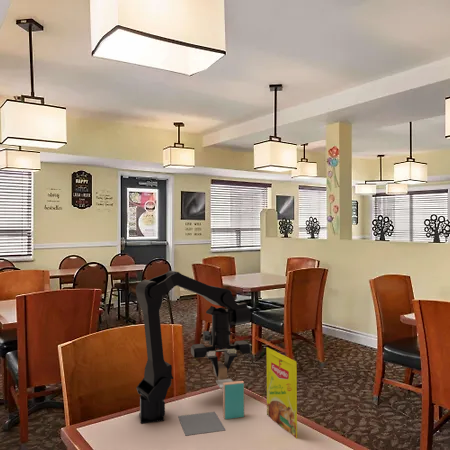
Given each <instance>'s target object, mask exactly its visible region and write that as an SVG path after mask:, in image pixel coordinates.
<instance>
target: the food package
mask: <svg viewBox="0 0 450 450" xmlns="http://www.w3.org/2000/svg"><path fill="white" fill-rule="evenodd" d="M265 352H266V416H268V417H269V418H270V419H271V420H272V421H274V423H276V424H277V425H279V426H280V427H281V428H282V429H284V431H286V432H287V433H289V434H290V435H292V436H293V437H294V438H295V439H298V398H297V396H298V393H297V391H298V390H297V389H298V387H297V385H298V382H297V380H298V377H297V376H298V375H297V374H298V373H297V371H298V368H297V360H294V359H291V358H290V357H288V356H286V355H284V354H281V353H279V352H277V351H276V350H274V349H272V348H269V347H268V346H266V351H265Z"/></svg>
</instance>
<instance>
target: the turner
mask: <svg viewBox="0 0 450 450" xmlns="http://www.w3.org/2000/svg"><path fill="white" fill-rule="evenodd" d="M213 375H214V376H215V378H216V379H215V384H217V385H218V387H219V388H220V389H222V390H223V383H226V382H235V381H234V380H233V379H232V378H228V372H227V368H226V366H225V365H224V363H223V361H220V360H218V376H216V374H215V371H214V370H213Z"/></svg>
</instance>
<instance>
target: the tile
mask: <svg viewBox="0 0 450 450" xmlns="http://www.w3.org/2000/svg"><path fill="white" fill-rule="evenodd" d="M244 417H245V382H244V381H243V380H236V381H234V382H226V383H223V388H222V418H223V420H230V419H236V418H237V419H238V418H244Z"/></svg>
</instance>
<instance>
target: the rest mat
mask: <svg viewBox="0 0 450 450" xmlns="http://www.w3.org/2000/svg"><path fill="white" fill-rule="evenodd" d="M178 421H179V422H180V426H181V427H182V430H183V433H184V436H186V437H189V436H195V435H202V434H210V433H217V432H223V431H224V432H225V431H226V430H227V429H226V428H225V426H224V425H223V423H222V421H221V419H220V418H219V417H218V414H217V413H216V411H209V412H201V413H200V412H198V413H192V414H185V415H178Z"/></svg>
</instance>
